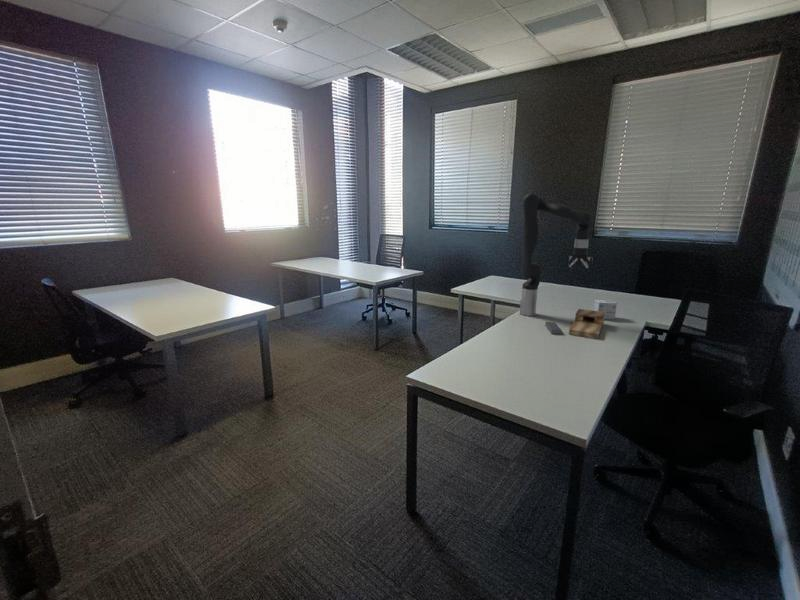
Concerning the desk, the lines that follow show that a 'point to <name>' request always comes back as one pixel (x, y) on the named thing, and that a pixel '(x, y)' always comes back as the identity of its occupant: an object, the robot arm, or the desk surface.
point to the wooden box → (587, 323)
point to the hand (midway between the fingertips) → (578, 273)
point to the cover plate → (553, 328)
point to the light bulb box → (606, 308)
